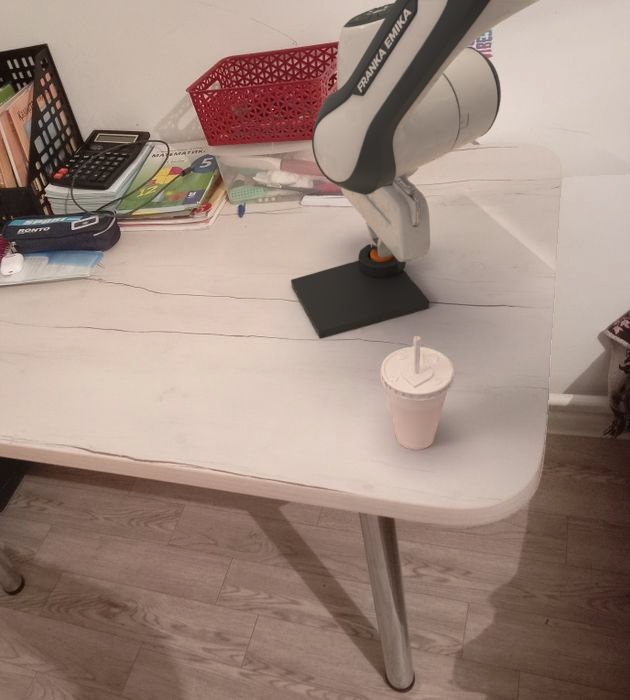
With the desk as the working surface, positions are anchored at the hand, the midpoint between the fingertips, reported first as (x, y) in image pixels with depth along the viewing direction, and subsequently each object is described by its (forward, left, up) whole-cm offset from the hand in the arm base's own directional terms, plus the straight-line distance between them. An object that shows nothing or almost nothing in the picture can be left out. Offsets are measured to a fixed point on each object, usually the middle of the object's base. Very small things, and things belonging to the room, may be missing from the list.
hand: (381, 251), depth 82 cm
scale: (+5, +4, -3) cm, 7 cm away
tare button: (0, 0, -2) cm, 2 cm away
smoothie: (+8, +28, -4) cm, 29 cm away
